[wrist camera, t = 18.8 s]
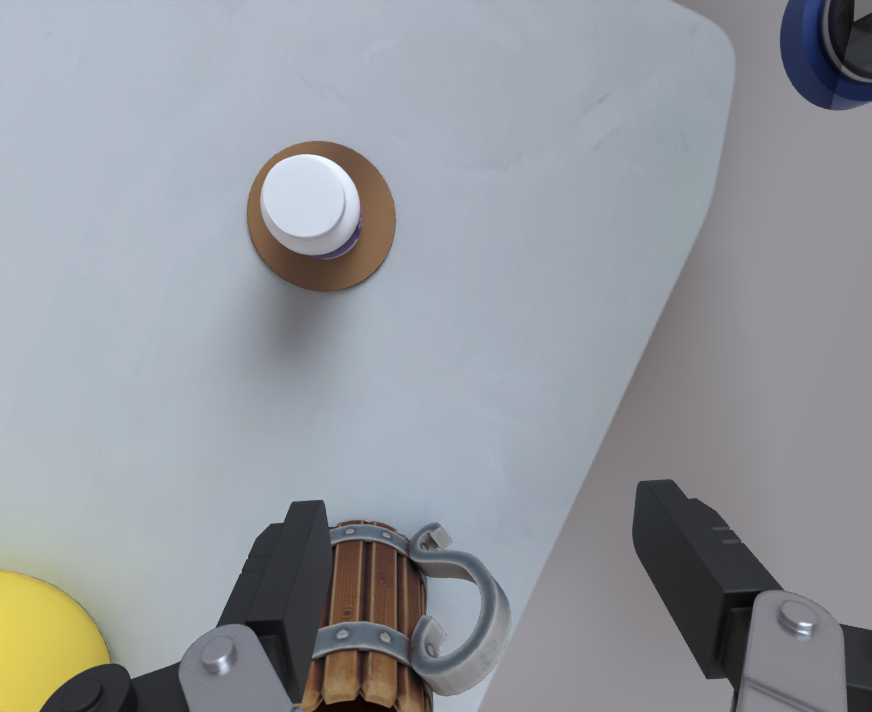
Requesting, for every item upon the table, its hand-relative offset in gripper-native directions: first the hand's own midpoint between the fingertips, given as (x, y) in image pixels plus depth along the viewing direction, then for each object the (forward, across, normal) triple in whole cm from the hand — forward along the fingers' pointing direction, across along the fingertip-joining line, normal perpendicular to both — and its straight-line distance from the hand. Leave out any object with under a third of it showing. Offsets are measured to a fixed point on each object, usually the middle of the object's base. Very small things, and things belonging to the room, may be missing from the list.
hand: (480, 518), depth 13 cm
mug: (+21, +6, +20) cm, 29 cm away
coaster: (+25, +8, -6) cm, 27 cm away
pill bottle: (+25, +8, -6) cm, 27 cm away
